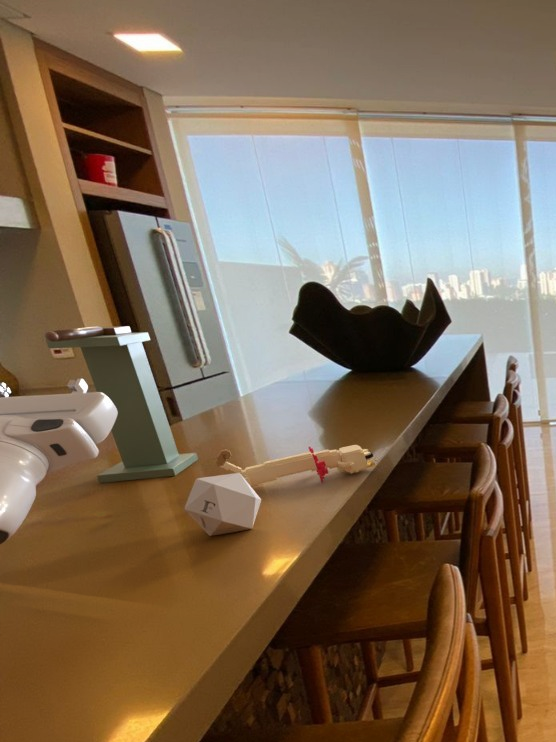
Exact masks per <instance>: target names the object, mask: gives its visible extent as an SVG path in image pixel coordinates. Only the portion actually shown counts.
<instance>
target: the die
mask: <svg viewBox="0 0 556 742" xmlns="http://www.w3.org/2000/svg"><path fill="white" fill-rule="evenodd" d="M261 503H262V498H261V497H260V496H259V495H258V494H257V492H256V491H255V490H254V488H253V487H251V486H250V485H249V484H248V483H247V481H246V480H245V479H244V478H243V476H242V475H241V474H240V473H236V472H233V473H226V474H221V475H220V474H219V475H213V476H205V477H198V478H195V481H194V483H193V486H192V488H191V491H190V493H189V496H188V498H187V500H186V503H185V505H184V508H183V509H184V511H185V512H186V513H187V515H189V517H191V518H192V519H193V520H194V522H196V523H197V525H199V527H200V528H201V529H203V531H204V532H205V533H206V534H207V535H208V536H209V537H213V536H218V535H225V534H230V533H235V532H241V531H247V530H252V529H253V528H254V525H255V522H256V518H257V516H258V512H259V509H260V507H261V506H260V505H261Z"/></svg>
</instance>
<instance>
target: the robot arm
mask: <svg viewBox="0 0 556 742" xmlns="http://www.w3.org/2000/svg"><path fill="white" fill-rule="evenodd" d="M68 381H69V382H67V384H66V386H67V388H68V389H69V390H71V393H57V394H39V395H36V394H35V395H21V396H19V395H18V396H10V394H11V393H12V391H11V388H10V387H9V386H8V385H7V384H6V383H5V382H0V545H2V544H4V543H5V542H7V541H8V540H9V539H11V537H13V536H14V535H15V534H16V532H17V531H18V530H19V528H21V526H22V524H23V523H24V521H25V519H26V518H27V516H28V514H29V512H30V510H31V508H32V506H33V505H34V501H35V499H36V497H37V485H39V484H40V483H41V482H42V481H43V480H44V478H45V477H46V475H48V474H51V473H53V472H56V471H59V470H61V469H64V468H67V467H69V466H73V465H76V464H81V463H84V462H88V461H92V460H94V459H96V458H97V457H98V455H99V452H100V450H99V448H98V446H97V445H98V444H101V443H102V442H103V441H104V440H105V439H107V437H108V436H109V434H110V433H111V429H112V427H113V425H114V423H115V420H116V418H117V414H118V411H117V409H116V407H115V405H114V404H113V402H112V401H111V400H110V399H109V397H107V396H106V395H105V394H104V393H102V392H97V391H91V392H88V389H89V385H88V384H87V381H85V379H84V378H73V379H72V378H71V379H69V380H68Z"/></svg>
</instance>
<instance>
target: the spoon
mask: <svg viewBox="0 0 556 742" xmlns="http://www.w3.org/2000/svg"><path fill="white" fill-rule="evenodd" d="M125 333H132V330H131V327H130V325H120V326H119V325H116V326H99V325H95V326H87V327H86V326H85V327H75V328H66V329H58V330H50V331H46V332H45V333H44V338H45V340H46V339H47V340H48V341H51V342H57V341H64V340H71V339H79V338H86V337H93V336H100V335H118V334H125Z"/></svg>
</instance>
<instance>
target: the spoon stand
mask: <svg viewBox="0 0 556 742" xmlns="http://www.w3.org/2000/svg"><path fill="white" fill-rule="evenodd" d="M149 341H151V337H150V333H149V332H148V331H146V332H143V331H142V332H131V333H125V334H118V335H100V336H93V337H86V338H79V339H71V340H64V341H57V342H51V341H48V340H47V339H46V338H45V342H46V344H47V347H48V349H69V348H71V349H72V348H73V349H74V348H80V351H81V353H82V356H83V359H84V361H85V364H86V367H87V370H88V372H89V375H90V378H91V380H92V382H93V386H94V388H95V392H102V393H104V394H105V395H106V396H107V397H109V399H110V400H111V401H112V402H113V404H114V405H115V407H116V409H117V411H118V414H117V418H116V420H115V423H114V425H113V427H112V429H111V431H110V433H112V437H113V440H114V442H115V445H116V448H117V450H118V454H119V456H120V459H121V462H119V463H116V464H115V465H113V466H111V467H110V468H107V469H106V470H104V471H102V472H100V473H98V474H97V475H96V477H97V480H98V482H99V483H100V484H103V483H113V482H124V481H135V480H145V479H146V480H147V479H157V478H166V477H167V478H169V477H176V476H177V475H178V474H180V473H181V472H183V471H184V470H186V469H187V468H188V467H190V466H192V465H193V464H194V463H196V462H197V461H198V460H199V457H198V455H197V452H189V453H188V452H186V453H179V451H178V448H177V445H176V442H175V439H174V435H173V432H172V428H171V427H170V424H169V421H168V420H169V419H168V417H167V414H166V411H165V408H164V405H163V402H162V399H161V396H160V393H159V390H158V386H157V384H156V381H155V378H154V375H153V372H152V369H151V366H150V363H149V360H148V357H147V354H146V350H145V348H144V345H143V342H149Z"/></svg>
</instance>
